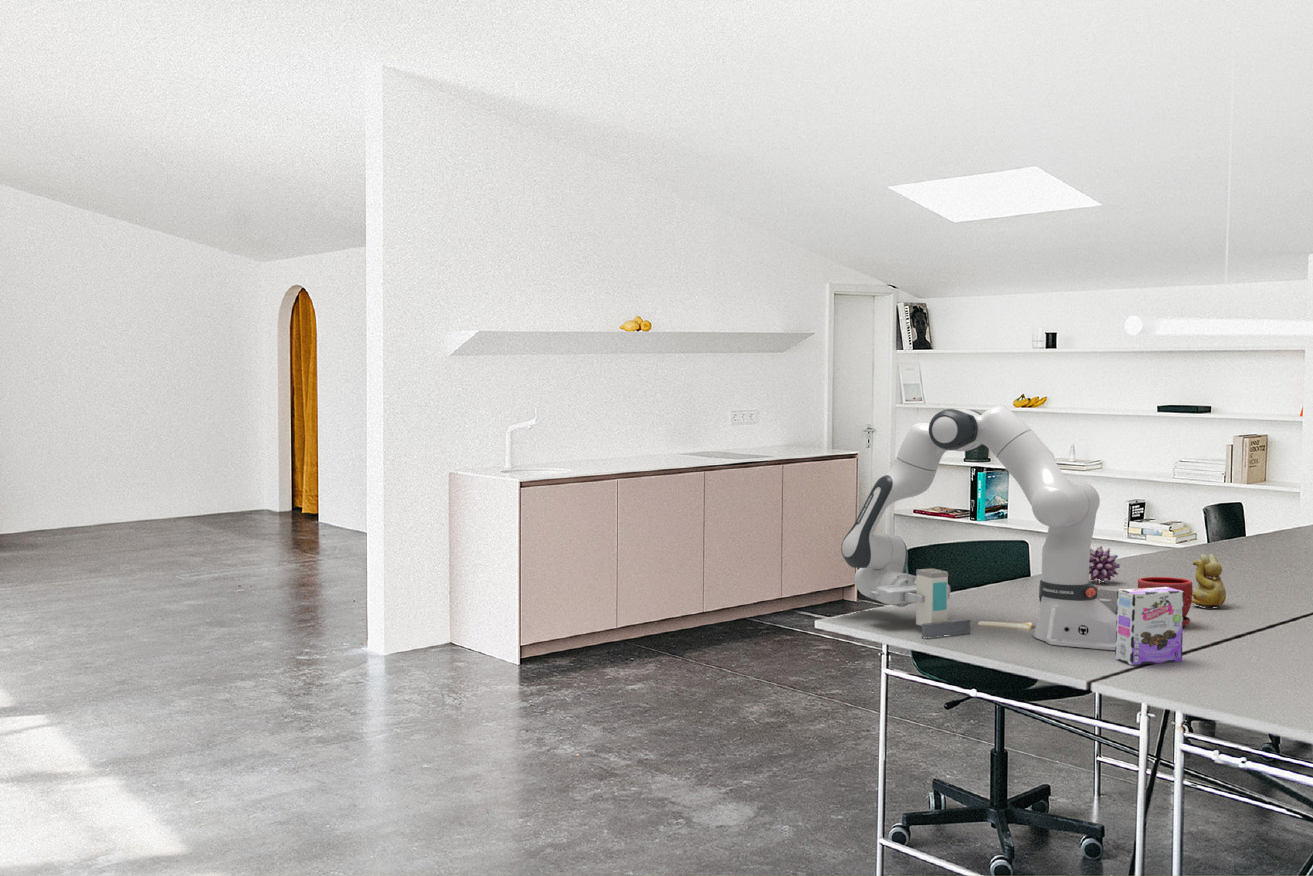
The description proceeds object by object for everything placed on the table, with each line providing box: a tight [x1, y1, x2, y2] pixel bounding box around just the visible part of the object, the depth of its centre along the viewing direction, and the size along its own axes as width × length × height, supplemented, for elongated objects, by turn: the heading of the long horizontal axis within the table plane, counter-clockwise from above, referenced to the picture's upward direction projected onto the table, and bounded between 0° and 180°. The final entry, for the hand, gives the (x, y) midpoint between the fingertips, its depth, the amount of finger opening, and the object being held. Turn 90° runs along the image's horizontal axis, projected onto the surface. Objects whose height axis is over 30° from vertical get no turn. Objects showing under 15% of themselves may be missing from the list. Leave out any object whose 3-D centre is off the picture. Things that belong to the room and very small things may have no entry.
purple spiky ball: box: [1089, 545, 1121, 582], centre depth 359 cm, size 12×12×12 cm
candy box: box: [1114, 587, 1184, 666], centre depth 259 cm, size 14×6×16 cm, turn 105°
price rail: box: [921, 618, 971, 638], centre depth 285 cm, size 2×14×4 cm, turn 115°
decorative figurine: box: [1191, 553, 1227, 608], centre depth 321 cm, size 10×8×15 cm
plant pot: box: [1137, 576, 1193, 627], centre depth 298 cm, size 13×13×12 cm
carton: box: [915, 568, 949, 627], centre depth 289 cm, size 5×6×14 cm
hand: (932, 598), depth 289 cm, fingers closed on carton, 5 cm apart
